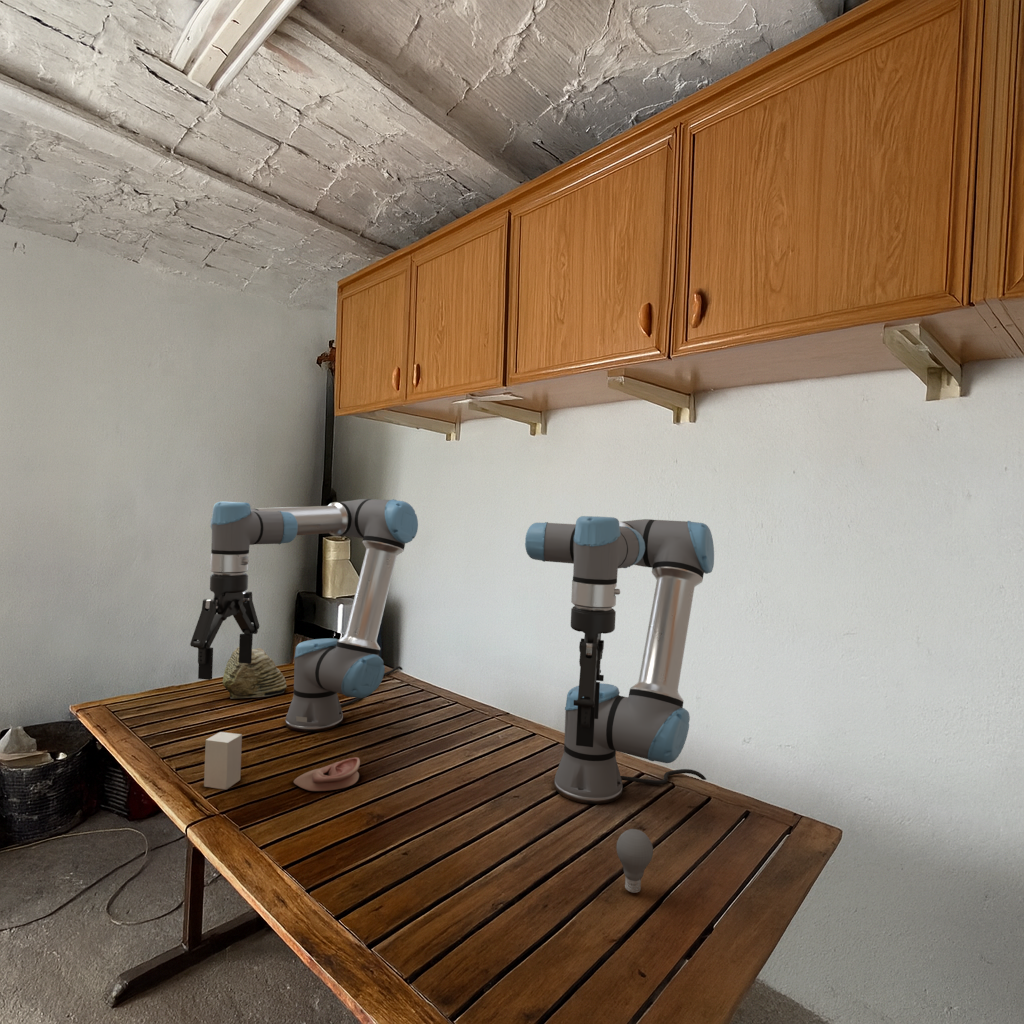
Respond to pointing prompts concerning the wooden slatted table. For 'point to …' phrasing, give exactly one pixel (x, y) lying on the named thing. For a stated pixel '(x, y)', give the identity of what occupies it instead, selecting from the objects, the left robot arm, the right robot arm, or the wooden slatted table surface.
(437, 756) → the wooden slatted table surface
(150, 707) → the wooden slatted table surface
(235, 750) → the block
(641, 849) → the light bulb
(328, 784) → the anatomical model
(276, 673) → the fossil
